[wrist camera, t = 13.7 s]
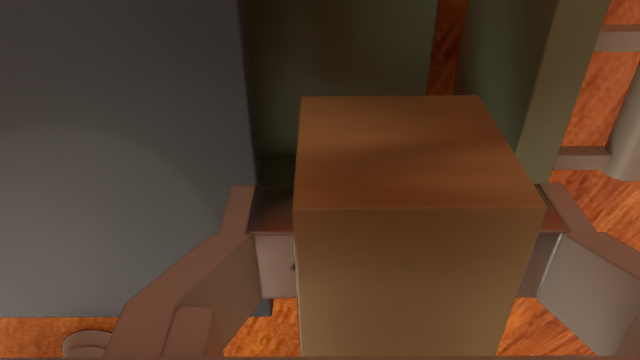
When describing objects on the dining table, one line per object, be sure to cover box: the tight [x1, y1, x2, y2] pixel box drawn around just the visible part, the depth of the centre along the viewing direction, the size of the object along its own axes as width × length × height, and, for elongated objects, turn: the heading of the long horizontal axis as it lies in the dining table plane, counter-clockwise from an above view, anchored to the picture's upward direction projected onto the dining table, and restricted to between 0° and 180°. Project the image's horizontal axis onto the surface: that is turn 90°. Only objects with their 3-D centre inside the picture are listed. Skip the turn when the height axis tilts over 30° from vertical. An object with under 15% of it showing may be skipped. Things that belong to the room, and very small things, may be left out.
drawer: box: [244, 0, 640, 185], centre depth 15 cm, size 17×11×7 cm
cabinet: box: [0, 0, 274, 317], centre depth 15 cm, size 14×13×9 cm
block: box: [292, 95, 547, 357], centre depth 10 cm, size 4×4×4 cm
